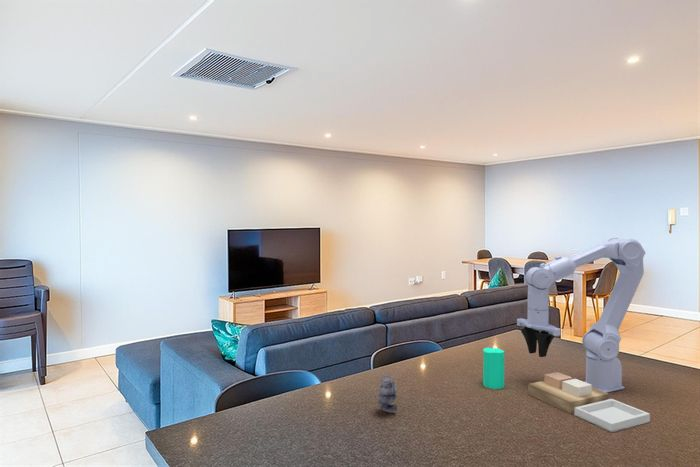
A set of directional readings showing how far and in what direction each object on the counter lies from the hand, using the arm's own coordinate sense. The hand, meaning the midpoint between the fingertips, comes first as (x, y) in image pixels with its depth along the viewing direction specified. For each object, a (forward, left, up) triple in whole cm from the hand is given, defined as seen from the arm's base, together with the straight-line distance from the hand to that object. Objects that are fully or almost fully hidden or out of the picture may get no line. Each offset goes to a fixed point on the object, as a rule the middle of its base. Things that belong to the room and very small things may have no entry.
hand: (537, 354), depth 133 cm
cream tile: (0, +14, -6) cm, 15 cm away
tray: (0, +24, -9) cm, 25 cm away
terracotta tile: (0, +8, -6) cm, 10 cm away
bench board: (0, +11, -9) cm, 14 cm away
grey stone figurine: (+49, -2, -10) cm, 50 cm away
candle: (+11, -6, -10) cm, 16 cm away
